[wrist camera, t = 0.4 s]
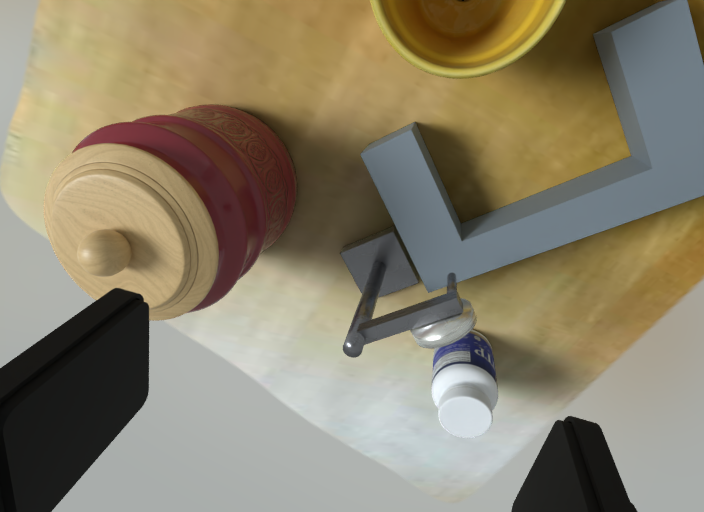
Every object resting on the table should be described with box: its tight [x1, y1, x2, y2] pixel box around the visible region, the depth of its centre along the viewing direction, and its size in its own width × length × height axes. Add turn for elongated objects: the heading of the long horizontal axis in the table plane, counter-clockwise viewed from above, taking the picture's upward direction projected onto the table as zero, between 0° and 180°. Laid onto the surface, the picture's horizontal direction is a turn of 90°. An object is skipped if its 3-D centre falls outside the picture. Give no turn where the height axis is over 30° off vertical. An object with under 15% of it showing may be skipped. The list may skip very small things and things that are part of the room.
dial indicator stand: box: [340, 226, 477, 357], centre depth 34 cm, size 10×5×14 cm, turn 117°
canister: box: [44, 104, 297, 320], centre depth 33 cm, size 13×13×18 cm
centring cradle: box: [360, 0, 704, 293], centre depth 34 cm, size 21×12×4 cm, turn 117°
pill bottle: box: [432, 330, 498, 438], centre depth 39 cm, size 5×5×9 cm
